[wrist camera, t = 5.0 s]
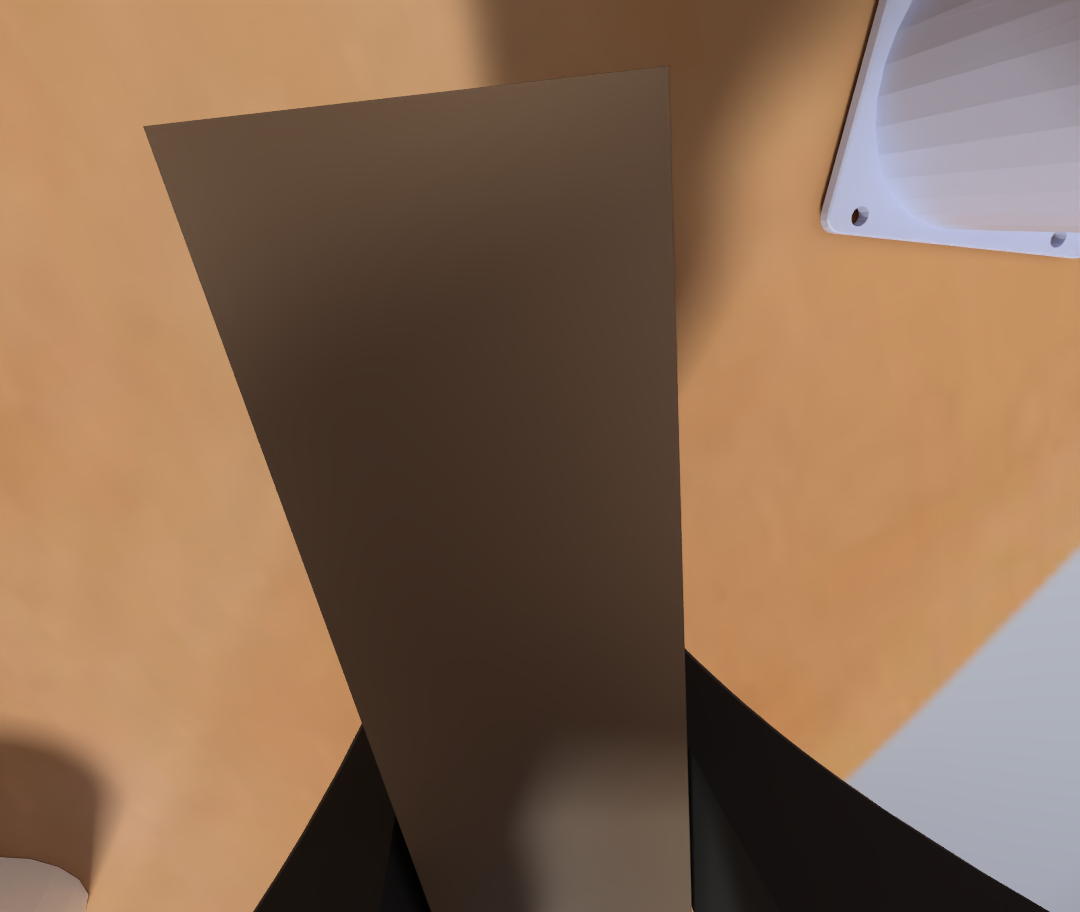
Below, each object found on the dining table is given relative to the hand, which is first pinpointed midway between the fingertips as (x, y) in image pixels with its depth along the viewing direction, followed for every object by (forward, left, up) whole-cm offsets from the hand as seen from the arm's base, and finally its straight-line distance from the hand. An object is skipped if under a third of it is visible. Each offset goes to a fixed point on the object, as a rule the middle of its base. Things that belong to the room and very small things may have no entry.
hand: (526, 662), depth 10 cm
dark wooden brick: (0, -1, -2) cm, 2 cm away
